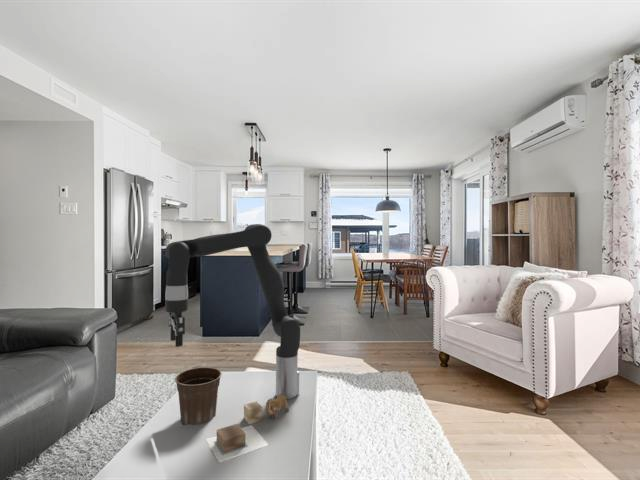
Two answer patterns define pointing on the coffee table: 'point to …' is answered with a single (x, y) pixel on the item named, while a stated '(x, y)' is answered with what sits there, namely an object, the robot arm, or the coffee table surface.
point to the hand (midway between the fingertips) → (176, 343)
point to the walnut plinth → (230, 438)
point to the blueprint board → (251, 443)
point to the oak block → (253, 412)
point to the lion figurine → (276, 405)
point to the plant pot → (198, 394)
